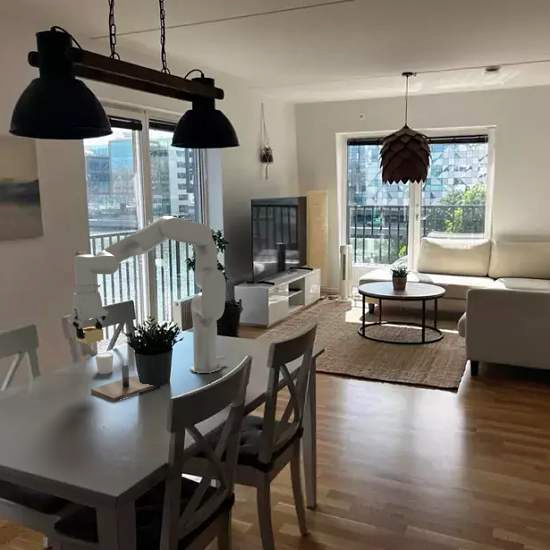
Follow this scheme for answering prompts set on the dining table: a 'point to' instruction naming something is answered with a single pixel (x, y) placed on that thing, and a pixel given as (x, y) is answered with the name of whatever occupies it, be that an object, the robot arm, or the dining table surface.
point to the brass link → (91, 335)
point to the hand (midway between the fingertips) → (89, 335)
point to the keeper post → (125, 375)
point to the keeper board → (120, 389)
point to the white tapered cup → (104, 363)
